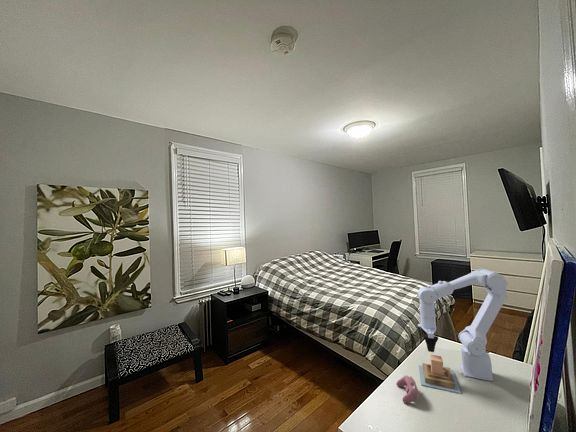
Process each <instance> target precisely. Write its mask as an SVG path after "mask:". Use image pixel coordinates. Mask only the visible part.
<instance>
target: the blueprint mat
mask: <svg viewBox="0 0 576 432" xmlns="http://www.w3.org/2000/svg"><path fill="white" fill-rule="evenodd" d="M418 371H419V378H420V385H421V386H423V387H427V388H432V389H435V390H442V391H446V392H450V393H455V394H459V395H460V394H462V392H461V389H460V386H459V383H458V380H457V378H456V375H455V372H454V371H452V370H450V371H451V374H452V377H453V380H454V383H455V389H453V388H448V387H443V386H438V385H433V384H429V383H425V379H424V373H423V365H422V364H421V365H420V364H418Z"/></svg>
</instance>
